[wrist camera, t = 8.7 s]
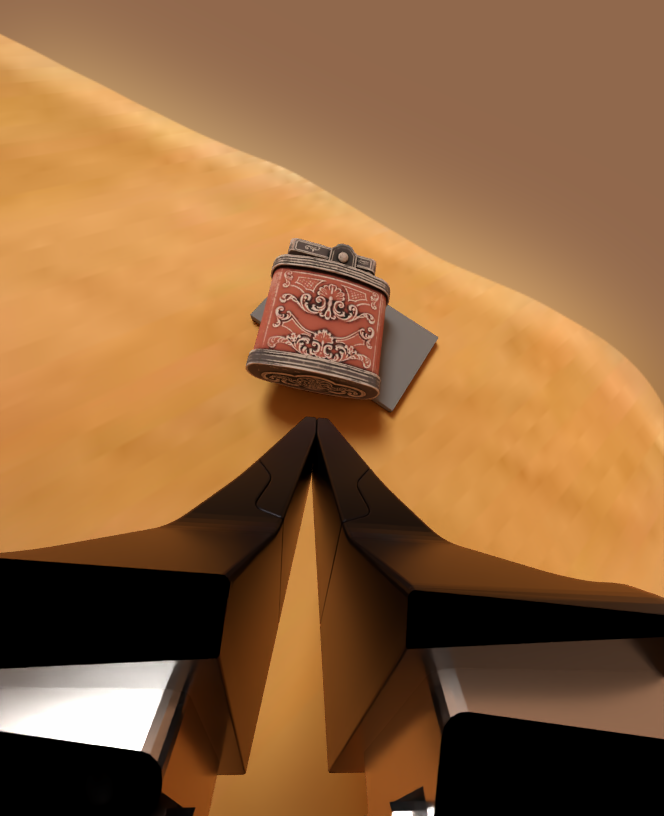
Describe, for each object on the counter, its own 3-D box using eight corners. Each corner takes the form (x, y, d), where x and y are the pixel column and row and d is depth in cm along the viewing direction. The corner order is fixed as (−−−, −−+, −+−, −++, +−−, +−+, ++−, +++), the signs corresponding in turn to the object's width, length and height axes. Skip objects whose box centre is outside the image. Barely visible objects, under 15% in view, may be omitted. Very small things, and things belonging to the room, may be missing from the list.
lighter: (369, 403, 17) (383, 284, 20) (388, 387, 14) (401, 247, 16) (250, 379, 16) (281, 257, 19) (240, 356, 13) (280, 213, 15)
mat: (390, 412, 17) (392, 410, 17) (251, 318, 18) (250, 314, 18) (435, 340, 19) (438, 337, 19) (308, 259, 20) (308, 253, 19)
